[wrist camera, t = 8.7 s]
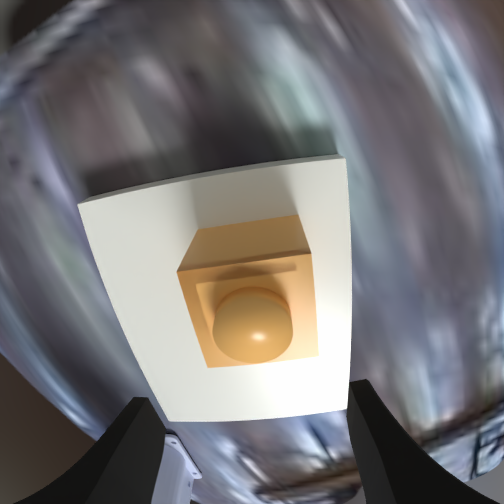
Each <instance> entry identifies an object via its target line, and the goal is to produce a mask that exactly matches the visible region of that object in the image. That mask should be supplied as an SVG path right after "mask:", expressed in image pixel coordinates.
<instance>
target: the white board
mask: <svg viewBox="0 0 504 504" xmlns="http://www.w3.org/2000/svg"><path fill="white" fill-rule="evenodd" d="M78 208H79V211H80V215H81V218H82V221H83V225H84V228H85V231H86V234H87V237H88V240H89V243H90V246H91V249H92V252H93V255H94V258H95V261H96V264H97V266H98V269H99V272H100V275H101V277H102V280H103V282H104V285H105V288H106V290H107V293H108V295H109V298H110V300H111V303H112V305H113V308H114V310H115V312H116V315H117V317H118V320H119V322H120V324H121V326H122V329H123V331H124V333H125V336H126V338H127V340H128V342H129V344H130V346H131V349H132V351H133V353H134V355H135V357H136V359H137V361H138V363H139V365H140V367H141V369H142V371H143V373H144V375H145V377H146V379H147V381H148V383H149V385H150V387H151V389H152V391H153V393H154V395H155V396H156V398H157V400H158V402H159V404H160V406H161V407H162V409H163V411H164V413H165V414H166V416H167V418H168V420H169V421H183V422H211V421H241V420H258V419H271V418H282V417H291V416H300V415H308V414H316V413H323V412H330V411H336V410H342V409H347V400H348V387H349V371H350V351H351V318H352V265H351V232H350V211H349V195H348V181H347V169H346V158H344V157H343V156H341V155H339V154H334V155H324V156H315V157H306V158H297V159H289V160H281V161H273V162H266V163H259V164H252V165H246V166H239V167H233V168H226V169H220V170H215V171H209V172H203V173H198V174H192V175H187V176H182V177H176V178H171V179H166V180H161V181H157V182H152V183H147V184H143V185H138V186H134V187H129V188H125V189H120V190H116V191H112V192H108V193H104V194H100V195H96V196H92V197H89V198H87V199H86V200H84V201H82V202H81V203H79V204H78ZM291 215H299V218H300V220H301V223H302V226H303V229H304V232H305V235H306V238H307V241H308V244H309V247H310V251H311V254H312V264H313V276H314V288H315V300H316V314H317V329H318V346H319V356H318V357H311V358H304V359H297V360H289V361H280V362H272V363H262V364H252V365H241V366H229V367H215V368H207V365H206V362H205V359H204V356H203V353H202V351H201V348H200V345H199V342H198V339H197V336H196V333H195V330H194V327H193V324H192V321H191V318H190V315H189V311H188V308H187V305H186V302H185V299H184V296H183V292H182V289H181V286H180V283H179V279H178V276H177V273H176V271H177V269H178V267H179V265H180V263H181V261H182V259H183V257H184V255H185V253H186V251H187V250H188V248H189V246H190V244H191V242H192V240H193V238H194V236H195V234H196V232H197V230H198V229H203V228H210V227H216V226H223V225H229V224H236V223H243V222H249V221H256V220H263V219H270V218H277V217H284V216H291Z"/></svg>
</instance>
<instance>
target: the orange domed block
mask: <svg viewBox="0 0 504 504" xmlns="http://www.w3.org/2000/svg"><path fill="white" fill-rule="evenodd" d="M176 273H177V276H178V279H179V283H180V286H181V289H182V292H183V296H184V299H185V302H186V305H187V308H188V311H189V315H190V318H191V321H192V324H193V327H194V330H195V333H196V336H197V339H198V342H199V345H200V348H201V351H202V353H203V356H204V359H205V362H206V365H207V368H215V367H229V366H241V365H252V364H262V363H272V362H280V361H289V360H297V359H304V358H311V357H318V356H319V346H318V329H317V314H316V300H315V288H314V276H313V264H312V254H311V251H310V247H309V244H308V241H307V238H306V235H305V232H304V229H303V226H302V223H301V220H300V218H299V215H291V216H284V217H277V218H270V219H263V220H256V221H249V222H243V223H236V224H229V225H223V226H216V227H210V228H203V229H198V230H197V232H196V234H195V236H194V238H193V240H192V242H191V244H190V246H189V248H188V250H187V251H186V253H185V255H184V257H183V259H182V261H181V263H180V265H179V267H178V269H177V271H176Z"/></svg>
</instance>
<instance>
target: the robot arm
mask: <svg viewBox="0 0 504 504" xmlns="http://www.w3.org/2000/svg"><path fill="white" fill-rule="evenodd" d="M346 417H347V423H348V429H349V435H350V441H351V445H352V448H353V452H354V455H355V459H356V463H357V466H358V470H359V474H360V477H361V481H362V485H363V488H364V492H365V497H366V504H500V503H498V502H496V501H494V500H492V499H490V498H488V497H486V496H484V495H482V494H480V493H479V492H477V491H475V490H474V489H472V488H471V487H469V486H467V485H466V484H464V483H463V482H462V481H460V480H459V479H457V478H456V477H455V476H453V475H452V474H450V473H449V472H448V471H446V470H445V469H444V468H443V467H442V466H440V465H439V464H438V463H437V462H436V461H435V460H433V459H432V458H431V457H430V456H429V455H428V454H427V453H426V452H425V451H424V450H423V449H422V448H421V447H420V446H419V445H418V444H417V443H416V442H415V441H414V440H413V439H412V438H411V437H410V436H409V434H408V433H407V432H406V431H405V430H404V429H403V428H402V426H401V425H400V424H399V423H398V421H397V420H396V419H395V418H394V416H393V415H392V414H391V413H390V411H389V410H388V409H387V407H386V406H385V405H384V403H383V402H382V400H381V399H380V398H379V396H378V395H377V393H376V392H375V390H374V388H373V387H372V385H371V384H370V382H369V381H368V380H367V379H364V380H359V381H353V382H349V389H348V403H347V416H346ZM200 478H202V474H201V473H200V471H199V470H198V468H197V467H196V465H195V464H194V462H193V461H192V459H191V458H190V456H189V455H188V453H187V451H186V450H185V448H184V447H183V445H182V444H181V442H180V440H179V439H178V437H177V436H175V435H172V434H166V428H165V426H164V424H163V423H162V421H161V419H160V418H159V416H158V414H157V413H156V411H155V409H154V408H153V406H152V404H151V402H150V401H149V399H148V398H146V397H133V399H132V400H131V401H130V402H129V403H128V405H127V406H126V407H125V408H124V409H123V411H122V412H121V413H120V414H119V416H118V417H117V418H116V419H115V421H114V422H113V423H112V424H111V426H110V427H109V428H108V429H107V430H106V431H105V433H104V434H103V435H102V436H101V437H100V439H99V440H98V441H97V442H96V443H95V444H94V445H93V446H92V447H91V448H90V449H89V451H88V452H87V453H86V454H85V455H84V456H83V457H82V458H81V459H80V460H79V461H78V462H77V463H76V464H74V465H73V466H72V467H71V468H70V469H69V470H68V471H66V472H65V473H64V474H63V475H61V476H60V477H59V478H57V479H56V480H54V481H53V482H52V483H50V484H49V485H47V486H46V487H44V488H43V489H41V490H40V491H38V492H36V493H35V494H33V495H31V496H29V497H27V498H25V499H23V500H20V501H18V502H16V503H14V504H190V498H191V492H192V485H193V479H200Z"/></svg>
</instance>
